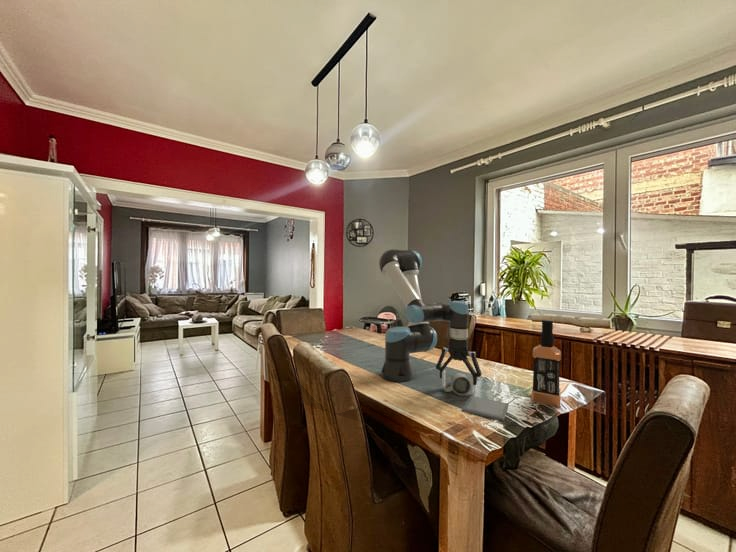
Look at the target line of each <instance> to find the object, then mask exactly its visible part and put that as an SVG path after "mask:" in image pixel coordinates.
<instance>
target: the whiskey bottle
mask: <svg viewBox="0 0 736 552" xmlns="http://www.w3.org/2000/svg"><path fill="white" fill-rule="evenodd" d="M553 323H554V322H553V320H551V319H542V320H541V333H540V336H539V337H540V338H539V339H540V344H538V345H536V346H534V347H533V349H532V357H533V376H532V377H533V378H532V388H531V395H530V401H531V402H533V403H537V404H542V405H547V406H551V407H557V408H560V407H561V389H560V361H561V360H562V351H561V350H560V349H558V347H556V346H554V342H555V337H554V336H555V335H554V333H553V330H554V328H553V327H554V326H553V325H554V324H553Z"/></svg>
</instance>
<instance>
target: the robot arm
mask: <svg viewBox="0 0 736 552" xmlns="http://www.w3.org/2000/svg"><path fill="white" fill-rule="evenodd" d="M378 261H379V262H378V266H379V269H380V272H381V274H382V275H383V277H387V279H388V281H389V282H390V284H391V285H392V287H393V289H394V290H395V292H396V293H397V295H398V296H399V298H400V300H401V301H402V303H403V304H404V306H405V308H406V309H405V313H404V314H405V316H406V317H405V318H406V319H407V320H406V321H408V324H407V325H406V326H394V327H393V326H392V327H390V328H388V329H387V330H386V332H385V338H384V341H385V342H384V345H385V346H384V349H385V350H384V351H385V353H384V355H385V356H384V363H383V366H382V369H381V373H380V375H381V376H380V377H381V378H382V379H384V380H386V381H390V382H397V383H398V382H399V383H402V382H409V381H411V380H412V379H413V378H414V377H413V376H414V373H413V367H412V365H411V363H410V362H411V361H410V354H416V353H426V352H429V351H432V350H433V349H434V348H435V347H436V345H437V342H438V334H437V332H436V330H435V329H434V328H433V327H431V326H430V323H431V322H439V321H442V322H443V321H444V322H448V323H449V343H448V344H449V346H448V348H447V347H445V346H444V347H442V348H441V353H440V356H439V358H438V361H437V363H436V365H435V370H438V371H439V378H440V379H441V387H442V388H443V387H444V386H445V385H446V373H447V372H446V370H445V369H446V367H447V366H448V365H449V364H450V363H451V362H452V360H454V361H460V362H461V361H462V362H463V363H464V364H465V366H466V368H467V369H468V372H469V373H470V374H471V377H470V383H471V389H470V394H474V393H475V386H476V385H477V383H478V378H481V377H482V371H481V367H480V365H479V362H478V360H477V353H476V351H469V349H468V348H469V339H468V337H469V313H470V311H469V309H470V308H469V302H467V301H465V300H452V301H450V302H449V304H447V303H442V302H434V303H429V304H425V303H424V301H423V300H422V294H421V290H420V283H419V279H418V275H419V274H420V271H421V269H422V265H423V259H422V256H421V255H420V253H419V252H418V251H415V250H411V249H388V250H386V251H384V252H383V253H382V254H381V256H380V258H379V260H378ZM447 353H448V354H449V355H450V356H449V357H448V358H447V360H446V361H445V362H444V363H443V361H444V358H445V357H446V354H447ZM468 356H469V358H471V361H472V364H473V365H472V364H471V362H470V360H469V358H468ZM442 363H443V364H442Z"/></svg>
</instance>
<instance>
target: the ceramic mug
mask: <svg viewBox="0 0 736 552" xmlns="http://www.w3.org/2000/svg"><path fill="white" fill-rule="evenodd" d="M442 388H443V391H444V392H445V393H449V392H454V393H455V394H456V395H458V396H466V395H468V394H469V393H470V392H471V380H470V379H468V377H467V376H466V375H465V374H464V373H461V372H456V373H454V374H452V376H451V377H450V382H448V383H447V384H446V383H445V386H444V387H442Z"/></svg>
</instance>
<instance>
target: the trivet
mask: <svg viewBox="0 0 736 552" xmlns="http://www.w3.org/2000/svg"><path fill="white" fill-rule="evenodd" d="M509 406H510V404H509V403H508V402H507V403H506V402H501V401H499V400H493V399H488V398H484V397H479V396H474V395H470V396H469V398H468V400H466V402H465V404H464V406H462V409H461V411H462V412H464V411H465V412H466V413H468V412H469V414H473V415H477V416H480V417H481V416H482V417H486V418H489V419H494V420H497V421H502V422H504V421H505V419H506V414H507V411H508V409H509ZM465 412H464V413H465Z"/></svg>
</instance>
